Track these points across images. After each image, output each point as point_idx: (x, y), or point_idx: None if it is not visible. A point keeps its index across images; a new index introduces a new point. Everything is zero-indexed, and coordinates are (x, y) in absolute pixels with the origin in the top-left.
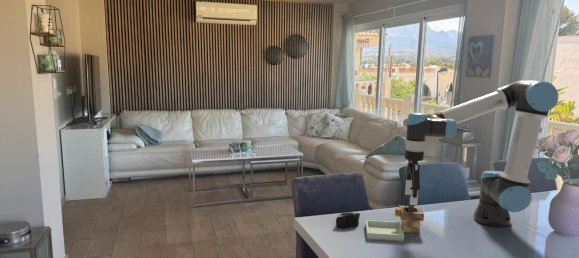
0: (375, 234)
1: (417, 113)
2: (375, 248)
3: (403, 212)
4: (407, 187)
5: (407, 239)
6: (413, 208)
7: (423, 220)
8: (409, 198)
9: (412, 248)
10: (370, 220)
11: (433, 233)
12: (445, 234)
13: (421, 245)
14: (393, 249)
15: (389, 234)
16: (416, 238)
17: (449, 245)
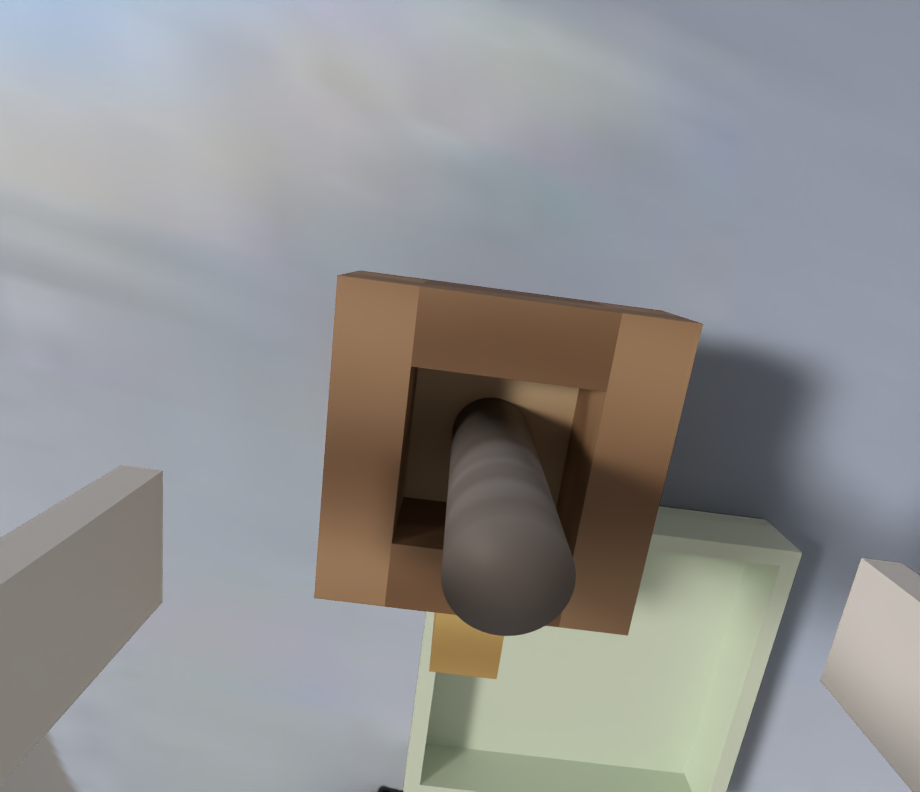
0: (726, 768)
1: None
2: (854, 749)
3: (617, 609)
4: (34, 704)
5: (712, 474)
6: (537, 458)
7: (663, 312)
8: (520, 628)
9: (903, 484)
10: (415, 760)
11: (579, 159)
12: (612, 17)
13: (856, 387)
14: None
15: (761, 673)
16: (696, 385)
17: (902, 92)
